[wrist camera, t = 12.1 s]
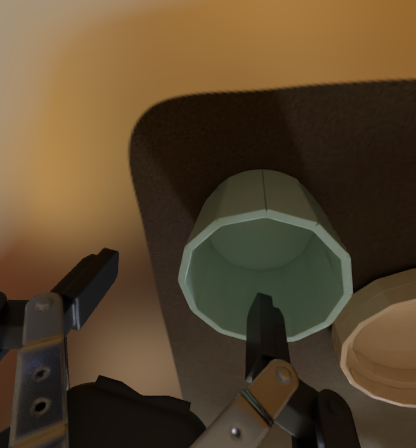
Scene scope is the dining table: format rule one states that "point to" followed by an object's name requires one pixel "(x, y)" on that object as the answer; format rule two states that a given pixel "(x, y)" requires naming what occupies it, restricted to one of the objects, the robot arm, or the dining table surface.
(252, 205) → the top bowl
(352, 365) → the bottom bowl
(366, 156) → the dining table surface
